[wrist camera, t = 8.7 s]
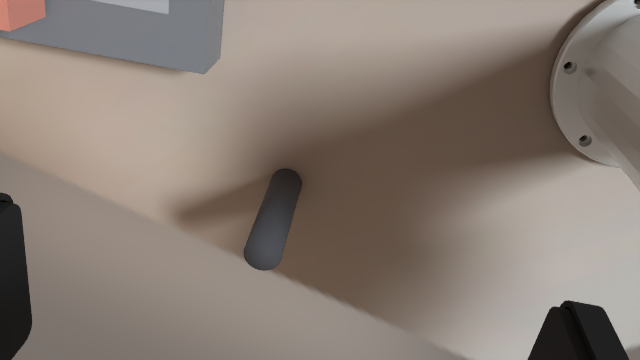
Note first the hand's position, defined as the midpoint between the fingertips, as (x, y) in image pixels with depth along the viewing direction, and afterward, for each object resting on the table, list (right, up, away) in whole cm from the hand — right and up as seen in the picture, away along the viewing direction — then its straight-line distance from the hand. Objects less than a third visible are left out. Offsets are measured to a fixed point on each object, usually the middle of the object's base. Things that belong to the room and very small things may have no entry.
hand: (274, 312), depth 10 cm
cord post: (-2, +2, +36) cm, 36 cm away
